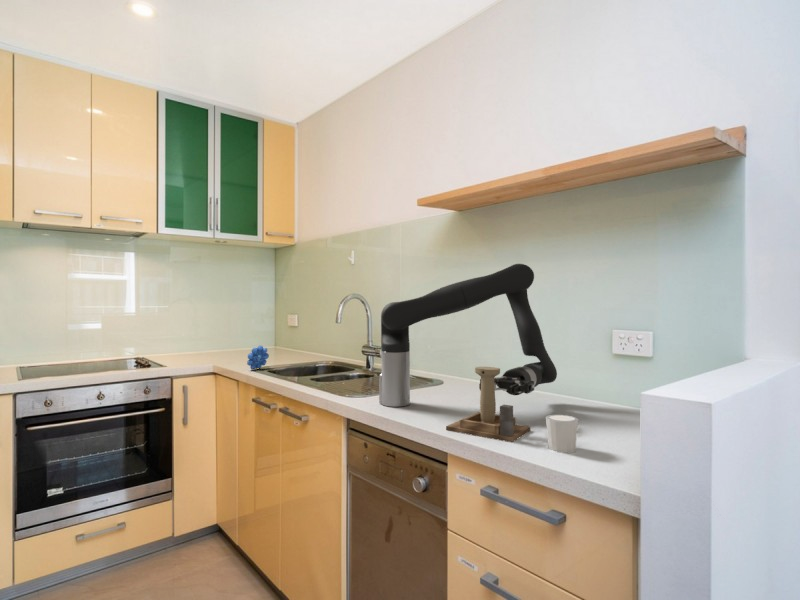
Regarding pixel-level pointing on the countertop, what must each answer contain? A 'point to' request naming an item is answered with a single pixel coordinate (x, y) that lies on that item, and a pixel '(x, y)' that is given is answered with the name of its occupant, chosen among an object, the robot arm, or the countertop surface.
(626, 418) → the countertop surface
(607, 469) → the countertop surface
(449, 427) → the seat board
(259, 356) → the grapes
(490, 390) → the handle
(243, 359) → the countertop surface
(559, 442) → the white faceted cup
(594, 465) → the countertop surface
